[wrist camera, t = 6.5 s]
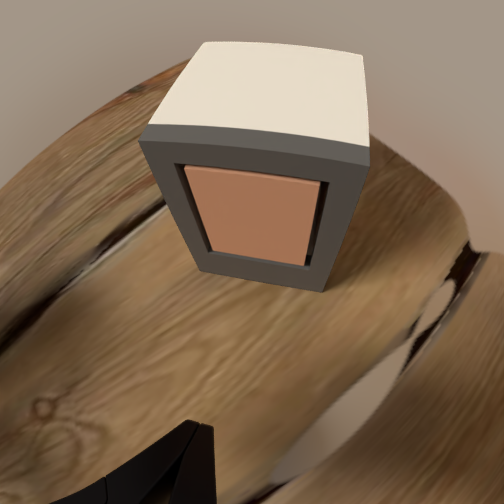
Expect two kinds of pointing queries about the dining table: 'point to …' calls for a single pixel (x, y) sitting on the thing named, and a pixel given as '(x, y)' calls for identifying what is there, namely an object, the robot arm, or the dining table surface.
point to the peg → (255, 211)
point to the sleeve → (265, 143)
